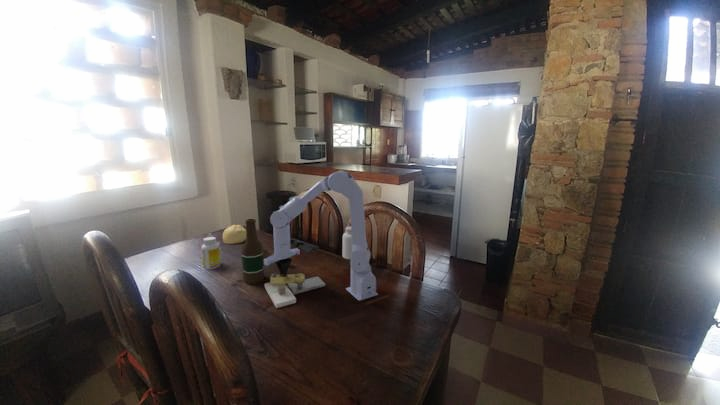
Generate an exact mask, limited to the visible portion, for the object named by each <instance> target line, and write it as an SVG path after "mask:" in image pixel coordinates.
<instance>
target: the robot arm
mask: <svg viewBox="0 0 720 405" xmlns="http://www.w3.org/2000/svg"><path fill="white" fill-rule="evenodd" d="M330 191H333V192H336V193H339V194H342V195H343V196H344V197H345V198H347V199H348V201H349V203H348V204H349V214H350V216H349V217H350V226H351V229H352V242H353V247H352V258H351V259H350V260H349V262H350V263H349V264H350V286H349V287H346V288H345V290H346V291H347V292H348V293H350V294H351V295H352V296H353V297H354V298H355V299H356V300H357V301H363V300H366V299H369V298H373V297H376V296H379V294H378V292H377V278H376V276H375V275H374V274H373V272H372V266H371V265H370V259H371V256H372V252H371V251H370V249H369V246H368V245H369V244H368V242H367V235H366V219H365V218H366V217H365V203H364V193H363V192H364V191H363V189H362V188H361V187H360V185H359V184H358V183H357V181H356V180H355V178H354V177H353V174H351V173H349V172H347V171H346V170H343V169H341V170H337V171H336V172H335V171H334V172H332V173H330V175H327V176H326V177H324V178H322V179H321V180H319V181H317V183H315V184H314V185H313V186H312V187H310V188H309V189H308V190H307V191H306V192H304V194H303V195H301V196H299V195H296V196H291V197H290V198H289V199H288V201H287V203H285V204H284V205H280V206H279V209H278V210H276V211H273V212H272V214H271V215H270V217H269V221H270V224H271V225H272V228H273V229H272V230H273V231H272V233H273V234H272V235H273V250H274V251H273V254H272V255H271V254H270V256H269V257H268V258H266V259H264V266H267V267H268V266H270V265H271V264H274V263H275V265H276V266H277V268H278V270H279V275H284V274H288V269H289V267H290V265H291V263H292V262H293V261H292V260H293V259H292V258H291V257H293V256H295V255H300V252H301V251H300V250H301V249H298V247H296V248H292V249H291V243H290V238H291V230H290V229H291V228H290V224H291V222H292V220H293V219H295V218H296V217H297V216H299V215H300V214H302V213H303V212H304V211H306V210H307V205H308V203H310V202H312V201H313V199H315V198H316V197H318V196H319V195H321V193H324V192H330Z"/></svg>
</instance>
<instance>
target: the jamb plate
mask: <svg viewBox="0 0 720 405" xmlns="http://www.w3.org/2000/svg"><path fill="white" fill-rule="evenodd" d="M287 287H288V288H289V290H290V291H291V292H292V294H293V295H297V294H301V293H305V292H308V291H312V290H316V289H319V288H323V287H326V283H325V282H324V281H323V280H322V279H321V278H320V277H319V276H318V275H317V276H313V277H310V278H309V277H308V278H305V282H304V283H302V284H296V283H287Z"/></svg>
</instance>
